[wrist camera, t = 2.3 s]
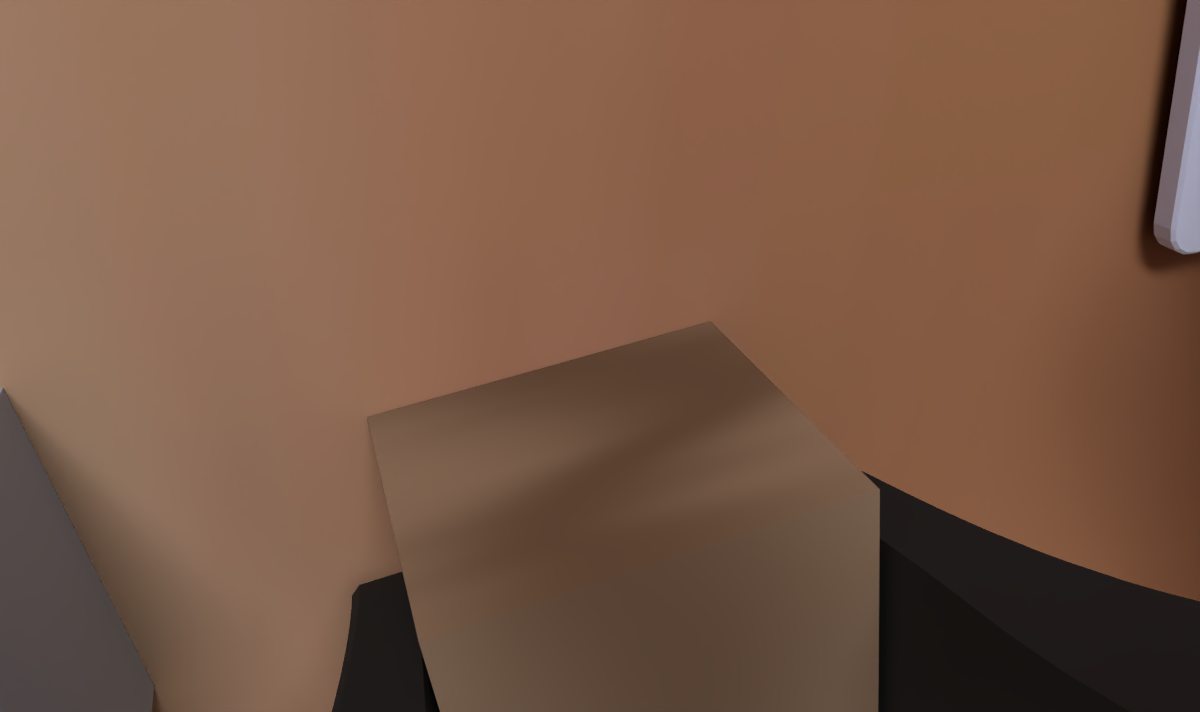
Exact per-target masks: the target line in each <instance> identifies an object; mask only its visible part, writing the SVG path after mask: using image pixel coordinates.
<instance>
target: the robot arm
mask: <svg viewBox="0 0 1200 712" xmlns="http://www.w3.org/2000/svg"><path fill="white" fill-rule="evenodd" d="M1154 235H1155V237H1156V239H1157V241H1158V243H1159V244H1161V245H1163V246H1165V247H1167V248H1169V249H1172V250H1174V251H1176V252H1179V253H1181V254H1194V253H1198V252H1200V0H1187V6H1186V12H1185V19H1184V26H1183V32H1182V39H1181V45H1180V52H1179V59H1178V65H1177V72H1176V78H1175V85H1174V92H1173V98H1172V105H1171V111H1170V118H1169V125H1168V131H1167V138H1166V144H1165V151H1164V158H1163V164H1162V171H1161V177H1160V184H1159V191H1158V197H1157V204H1156V210H1155V217H1154ZM862 472H863V471H862ZM863 473H864V474H865V475H866V476H867V477H868V478H869V479H870V480H871V481H872V482H873V483H874V484H875V485H876V486H877V487H878V488H879V489H880V550H879V689H878V712H1200V602H1199V601H1195V600H1191V599H1187V598H1184V597H1180V596H1176V595H1172V594H1168V593H1164V592H1160V591H1157V590H1154V589H1150V588H1147V587H1143V586H1140V585H1137V584H1133V583H1130V582H1126V581H1123V580H1120V579H1117V578H1114V577H1111V576H1108V575H1105V574H1102V573H1099V572H1096V571H1093V570H1090V569H1087V568H1084V567H1081V566H1078V565H1075V564H1072V563H1069V562H1066V561H1063V560H1061V559H1058V558H1055V557H1053V556H1050V555H1047V554H1044V553H1042V552H1039V551H1036V550H1034V549H1031V548H1029V547H1027V546H1024V545H1022V544H1019V543H1017V542H1014V541H1012V540H1009V539H1007V538H1005V537H1002V536H1000V535H997V534H995V533H992V532H990V531H987V530H985V529H983V528H981V527H978V526H976V525H974V524H971V523H969V522H967V521H965V520H962V519H960V518H958V517H956V516H954V515H951V514H949V513H947V512H945V511H943V510H941V509H938V508H936V507H934V506H932V505H930V504H928V503H926V502H924V501H921V500H919V499H917V498H915V497H913V496H911V495H909V494H907V493H905V492H903V491H901V490H899V489H897V488H895V487H893V486H891V485H889V484H887V483H885V482H883V481H881V480H879V479H877V478H875V477H873V476H871V475H869V474H867V473H865V472H863ZM332 712H440V710H439V707H438V703H437V700H436V697H435V694H434V690H433V687H432V684H431V681H430V677H429V674H428V671H427V668H426V664H425V661H424V658H423V654H422V651H421V648H420V645H419V641H418V637H417V632H416V628H415V624H414V619H413V615H412V611H411V606H410V602H409V598H408V593H407V589H406V585H405V580H404V576H403V572H400V573H397V574H394V575H390V576H387V577H384V578H381V579H378V580H374V581H371V582H368V583H365V584H362V585H359V587H358V588H357V590H356V591H355V592H354V594H353V595H352V610H351V620H350V628H349V635H348V641H347V647H346V652H345V657H344V662H343V667H342V673H341V677H340V682H339V686H338V690H337V694H336V698H335V702H334V705H333V709H332Z"/></svg>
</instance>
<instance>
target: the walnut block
mask: <svg viewBox="0 0 1200 712" xmlns="http://www.w3.org/2000/svg"><path fill="white" fill-rule="evenodd" d="M367 419H368V424H369V428H370V432H371V437H372V441H373V445H374V450H375V454H376V458H377V463H378V467H379V472H380V476H381V480H382V485H383V489H384V493H385V498H386V502H387V506H388V511H389V515H390V519H391V524H392V528H393V532H394V537H395V541H396V545H397V550H398V554H399V559H400V563H401V567H402V572H403V576H404V580H405V585H406V589H407V593H408V598H409V602H410V606H411V611H412V615H413V619H414V624H415V628H416V632H417V637H418V641H419V645H420V648H421V651H422V654H423V658H424V661H425V664H426V668H427V671H428V674H429V677H430V681H431V684H432V687H433V690H434V694H435V697H436V700H437V703H438V707H439V710H440V712H878V689H879V550H880V489H879V488H878V487H877V486H876V485H875V484H874V483H873V482H872V481H871V480H870V479H869V478H868V477H867V476H866V475H865V474H864V473H863V472H862V471H861V470H860V469H859V468H858V467H857V466H856V465H855V464H854V463H853V462H852V461H851V460H850V459H849V458H848V457H847V456H846V455H845V454H844V453H843V452H842V451H841V450H839V449H838V448H837V447H836V446H835V445H834V444H833V443H832V442H831V441H830V440H829V439H828V438H827V437H826V436H825V435H824V434H823V433H822V432H821V431H820V430H819V429H818V428H817V427H816V426H815V425H814V424H813V423H812V422H811V421H810V420H809V419H808V418H807V417H806V416H805V415H804V414H803V413H802V412H801V411H800V410H799V409H798V408H797V407H796V406H795V405H794V404H793V403H792V402H791V401H790V400H789V399H788V398H787V397H786V396H785V395H784V394H783V393H782V392H781V391H780V390H779V389H778V388H777V387H776V386H775V385H774V384H773V383H772V382H771V381H770V380H769V379H768V378H767V377H766V376H765V375H764V374H763V373H762V372H761V371H760V370H759V369H758V368H757V367H756V366H755V365H754V364H753V363H752V362H751V361H750V360H749V359H748V358H747V357H746V356H745V355H744V354H743V353H742V352H741V351H740V350H739V349H738V348H737V347H736V346H735V345H734V344H733V343H732V342H731V341H730V340H729V339H728V338H727V337H726V336H725V335H724V334H723V333H722V332H721V331H720V330H719V329H718V328H717V327H716V326H715V325H714V324H713V323H712V322H707V323H703V324H700V325H696V326H693V327H689V328H686V329H682V330H678V331H675V332H671V333H668V334H664V335H660V336H657V337H653V338H650V339H646V340H642V341H639V342H635V343H632V344H628V345H625V346H621V347H617V348H614V349H610V350H607V351H603V352H599V353H596V354H592V355H589V356H585V357H582V358H578V359H574V360H571V361H567V362H564V363H560V364H556V365H553V366H549V367H546V368H542V369H538V370H535V371H531V372H528V373H524V374H521V375H517V376H513V377H510V378H506V379H503V380H499V381H495V382H492V383H488V384H485V385H481V386H478V387H474V388H470V389H467V390H463V391H460V392H456V393H452V394H449V395H445V396H442V397H438V398H434V399H431V400H427V401H424V402H420V403H417V404H413V405H409V406H406V407H402V408H399V409H395V410H391V411H388V412H384V413H381V414H377V415H374V416H370V417H367Z"/></svg>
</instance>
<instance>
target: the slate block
mask: <svg viewBox="0 0 1200 712" xmlns="http://www.w3.org/2000/svg"><path fill="white" fill-rule="evenodd" d="M153 696H154V684H153V682H152V680H151V678H150V676H149V674H148V672H147V670H146V668H145V666H144V664H143V662H142V660H141V658H140V656H139V655H138V653H137V651H136V649H135V647H134V645H133V643H132V641H131V639H130V637H129V635H128V633H127V631H126V629H125V627H124V625H123V623H122V621H121V619H120V617H119V615H118V613H117V611H116V609H115V607H114V605H113V603H112V601H111V599H110V597H109V596H108V594H107V592H106V590H105V588H104V586H103V584H102V582H101V580H100V578H99V576H98V574H97V572H96V570H95V568H94V566H93V564H92V562H91V560H90V558H89V556H88V554H87V552H86V550H85V548H84V546H83V544H82V542H81V540H80V538H79V536H78V535H77V533H76V531H75V529H74V527H73V525H72V523H71V521H70V519H69V517H68V515H67V513H66V511H65V509H64V507H63V505H62V503H61V501H60V499H59V497H58V495H57V493H56V491H55V489H54V487H53V485H52V483H51V481H50V479H49V477H48V475H47V474H46V472H45V470H44V468H43V466H42V464H41V462H40V460H39V458H38V456H37V454H36V452H35V450H34V448H33V446H32V444H31V442H30V440H29V438H28V436H27V434H26V432H25V430H24V428H23V426H22V424H21V422H20V420H19V418H18V416H17V414H16V413H15V411H14V409H13V407H12V405H11V403H10V401H9V399H8V397H7V395H6V393H5V391H4V389H3V388H0V712H152V705H153Z"/></svg>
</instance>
